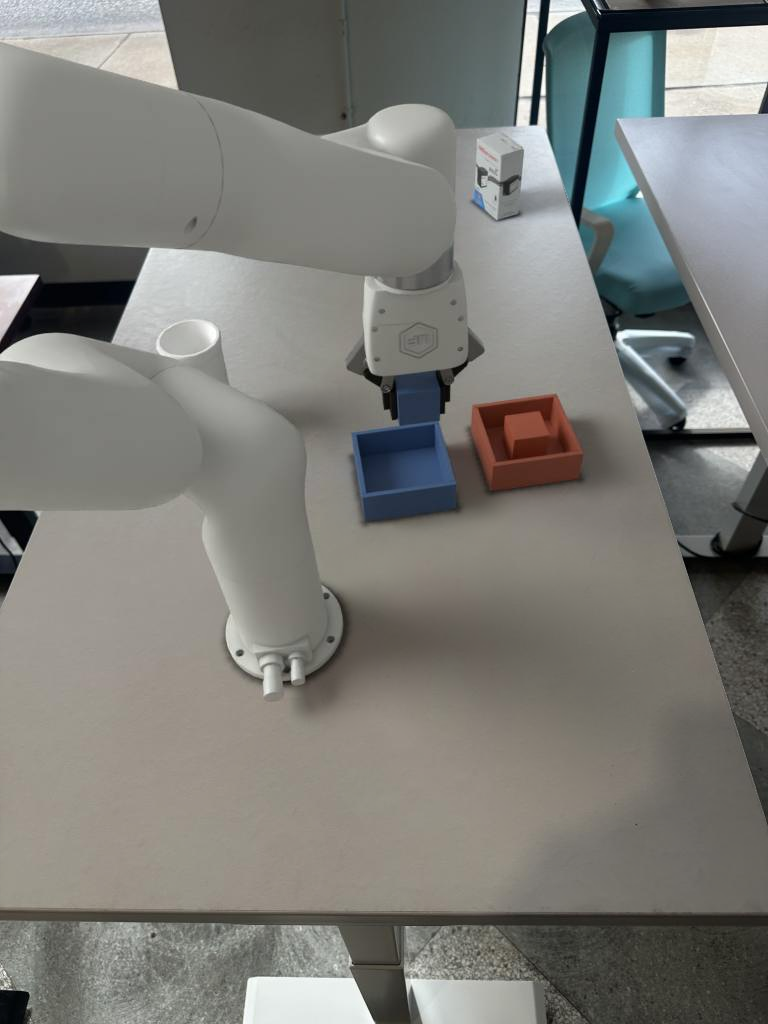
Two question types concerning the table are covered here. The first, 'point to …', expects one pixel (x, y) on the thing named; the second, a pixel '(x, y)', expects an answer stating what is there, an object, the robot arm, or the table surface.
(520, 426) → the terracotta block
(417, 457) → the blue bin
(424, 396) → the blue block
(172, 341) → the cup
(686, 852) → the table surface
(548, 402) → the terracotta bin
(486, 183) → the ink box
